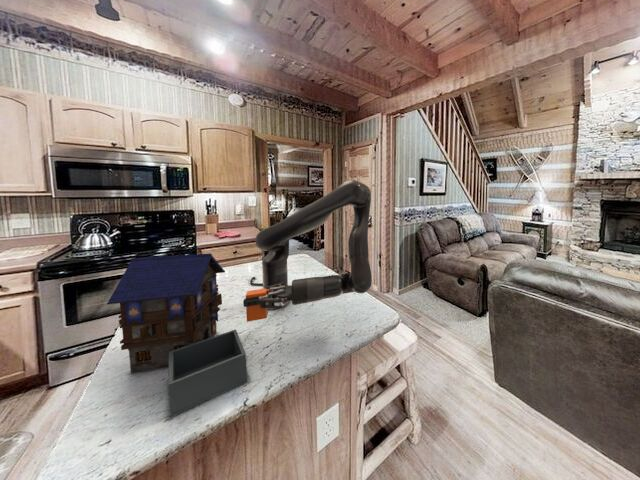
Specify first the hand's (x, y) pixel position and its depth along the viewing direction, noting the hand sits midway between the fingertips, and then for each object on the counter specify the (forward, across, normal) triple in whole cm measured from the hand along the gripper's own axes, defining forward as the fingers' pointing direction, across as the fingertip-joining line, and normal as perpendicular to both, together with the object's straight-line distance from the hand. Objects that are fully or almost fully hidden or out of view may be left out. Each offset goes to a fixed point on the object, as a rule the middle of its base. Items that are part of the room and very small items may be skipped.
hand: (245, 300), depth 73 cm
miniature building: (+19, -11, +18) cm, 29 cm away
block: (-3, 0, +6) cm, 7 cm away
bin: (+8, +6, +18) cm, 20 cm away
